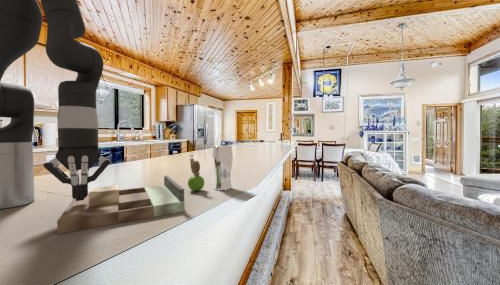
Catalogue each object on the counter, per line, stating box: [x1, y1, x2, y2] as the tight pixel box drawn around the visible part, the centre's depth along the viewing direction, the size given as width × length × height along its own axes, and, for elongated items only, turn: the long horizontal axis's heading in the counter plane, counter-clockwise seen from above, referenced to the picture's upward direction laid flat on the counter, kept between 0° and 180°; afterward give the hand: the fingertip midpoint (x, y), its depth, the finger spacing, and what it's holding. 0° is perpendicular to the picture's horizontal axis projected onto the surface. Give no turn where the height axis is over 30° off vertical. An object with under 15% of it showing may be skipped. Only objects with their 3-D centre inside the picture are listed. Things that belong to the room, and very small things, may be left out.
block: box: [88, 184, 120, 206], centre depth 55 cm, size 6×6×3 cm
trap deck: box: [56, 175, 185, 235], centre depth 57 cm, size 24×22×6 cm
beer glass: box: [212, 145, 234, 191], centre depth 77 cm, size 7×7×15 cm
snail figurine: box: [187, 154, 205, 192], centre depth 75 cm, size 5×6×12 cm
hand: (80, 199), depth 52 cm, fingers closed
